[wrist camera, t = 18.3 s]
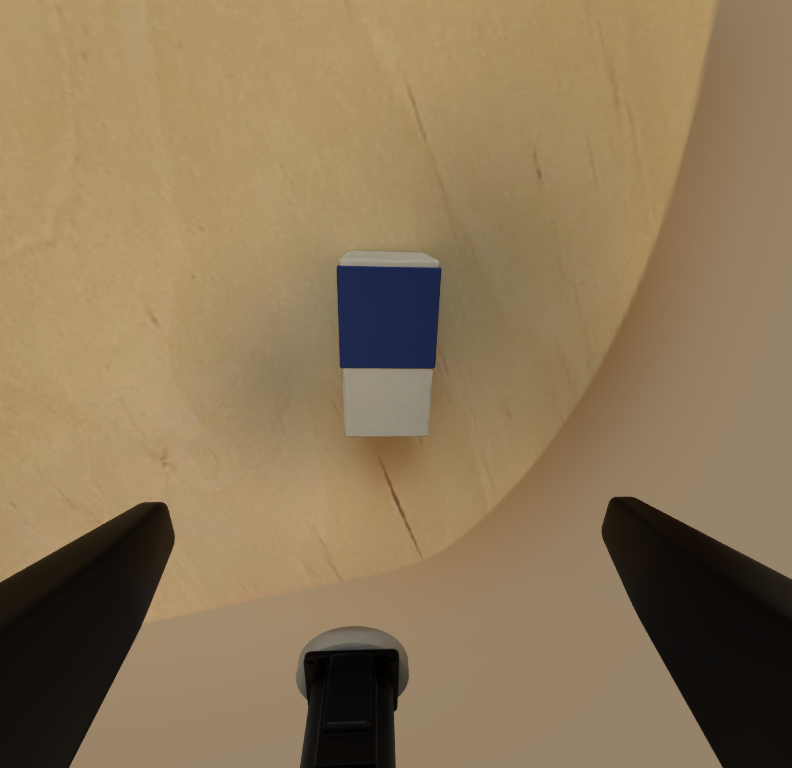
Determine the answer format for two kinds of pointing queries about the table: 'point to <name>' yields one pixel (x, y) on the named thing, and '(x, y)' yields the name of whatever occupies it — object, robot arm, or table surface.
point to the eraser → (387, 341)
